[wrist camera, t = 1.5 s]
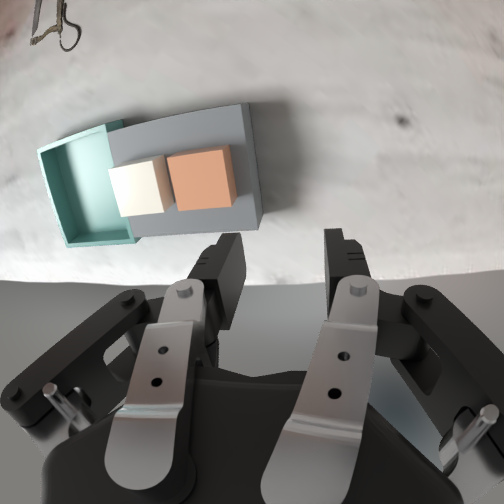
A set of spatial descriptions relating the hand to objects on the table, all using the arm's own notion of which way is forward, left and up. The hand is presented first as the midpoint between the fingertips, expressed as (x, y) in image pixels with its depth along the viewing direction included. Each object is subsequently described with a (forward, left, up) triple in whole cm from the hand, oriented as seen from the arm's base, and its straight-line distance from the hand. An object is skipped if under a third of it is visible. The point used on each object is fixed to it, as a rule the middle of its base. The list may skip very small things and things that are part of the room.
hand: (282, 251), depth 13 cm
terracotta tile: (+7, -3, -15) cm, 17 cm away
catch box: (+23, -9, -19) cm, 31 cm away
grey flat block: (+10, -4, -19) cm, 22 cm away
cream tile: (+13, -5, -15) cm, 21 cm away
